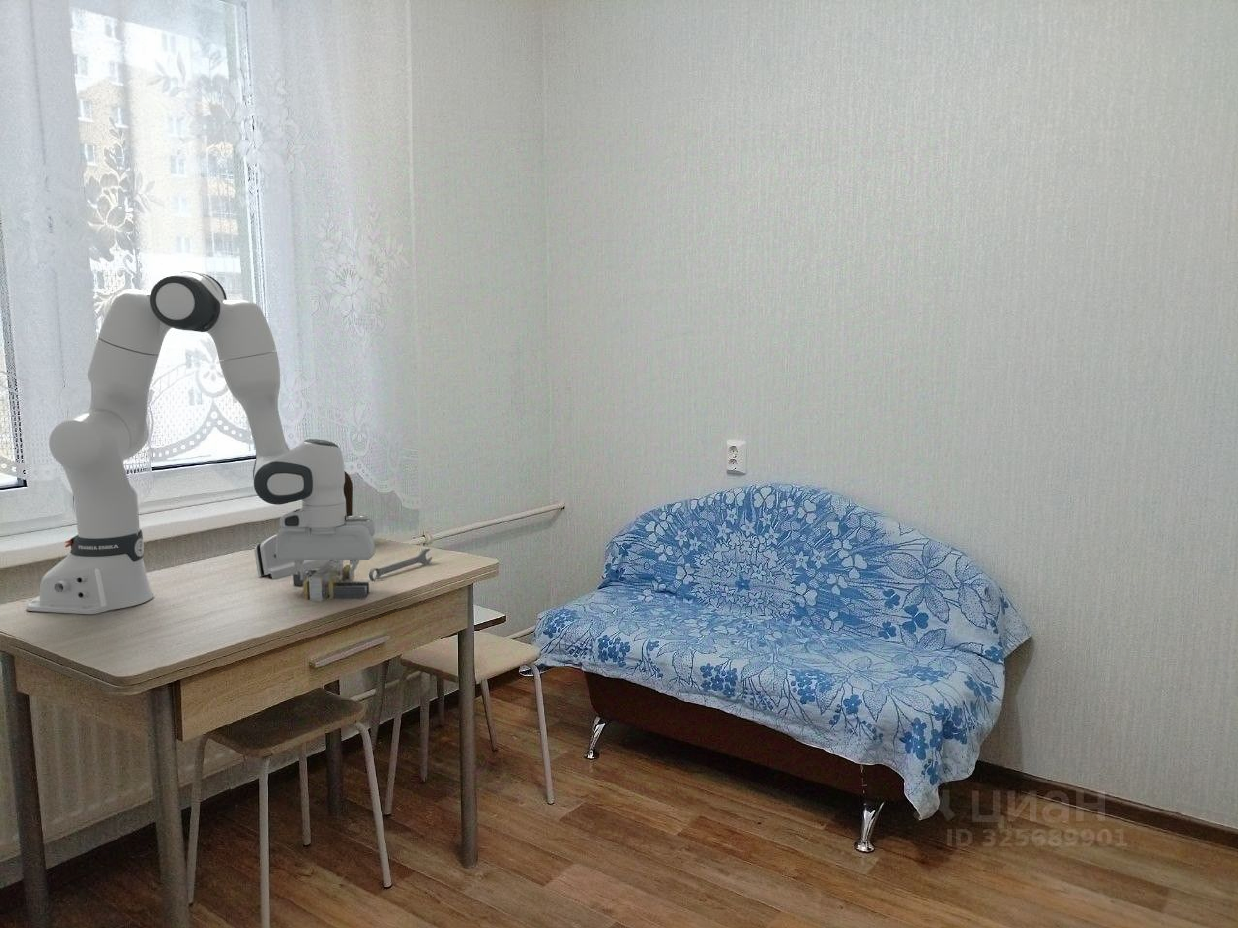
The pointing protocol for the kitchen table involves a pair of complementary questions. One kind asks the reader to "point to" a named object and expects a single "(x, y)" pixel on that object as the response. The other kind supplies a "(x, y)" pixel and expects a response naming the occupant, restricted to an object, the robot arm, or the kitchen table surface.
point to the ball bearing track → (336, 586)
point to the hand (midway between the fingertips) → (327, 579)
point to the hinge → (278, 561)
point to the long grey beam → (324, 579)
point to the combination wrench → (400, 564)
